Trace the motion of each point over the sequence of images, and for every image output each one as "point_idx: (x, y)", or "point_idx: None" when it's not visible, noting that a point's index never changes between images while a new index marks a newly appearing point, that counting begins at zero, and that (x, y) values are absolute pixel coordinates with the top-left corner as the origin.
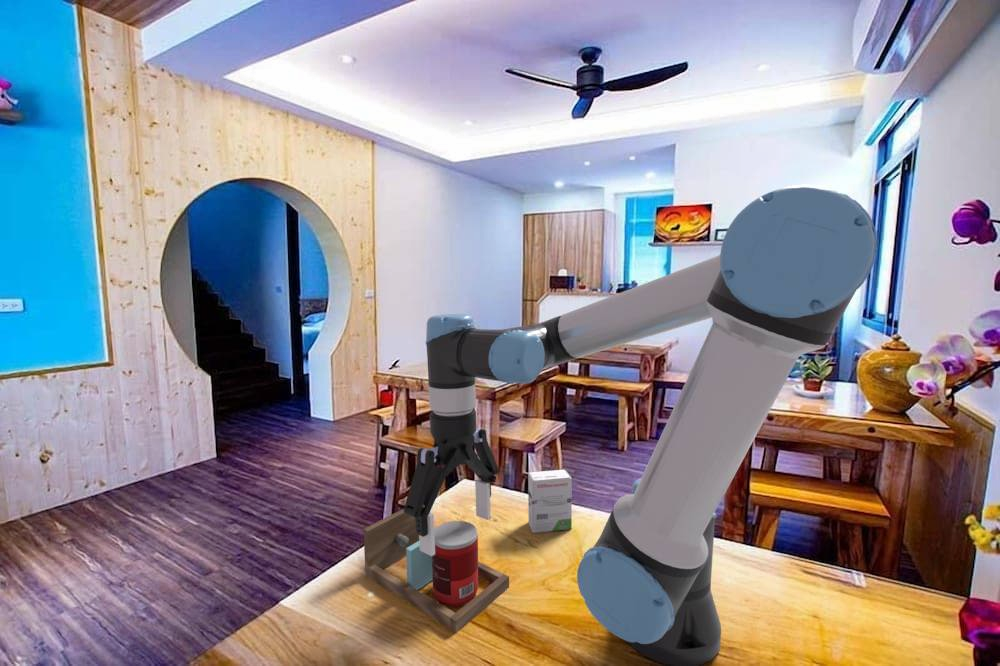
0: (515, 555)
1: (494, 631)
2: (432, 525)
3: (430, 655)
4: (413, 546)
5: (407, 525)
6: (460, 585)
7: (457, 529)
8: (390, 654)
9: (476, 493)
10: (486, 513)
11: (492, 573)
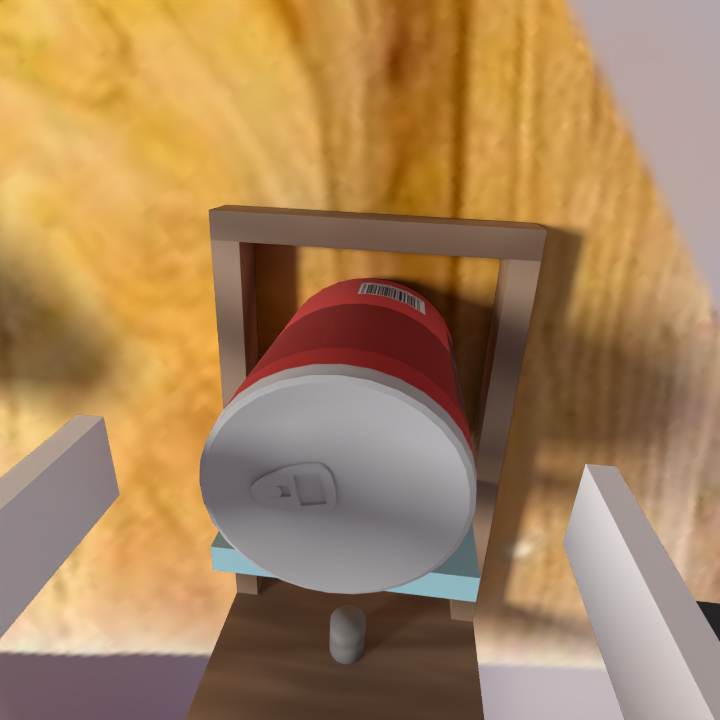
0: (70, 293)
1: (455, 103)
2: (697, 642)
3: (667, 231)
4: (447, 587)
5: (295, 669)
6: (422, 316)
7: (291, 502)
8: (717, 342)
9: (12, 615)
10: (80, 449)
11: (239, 279)
